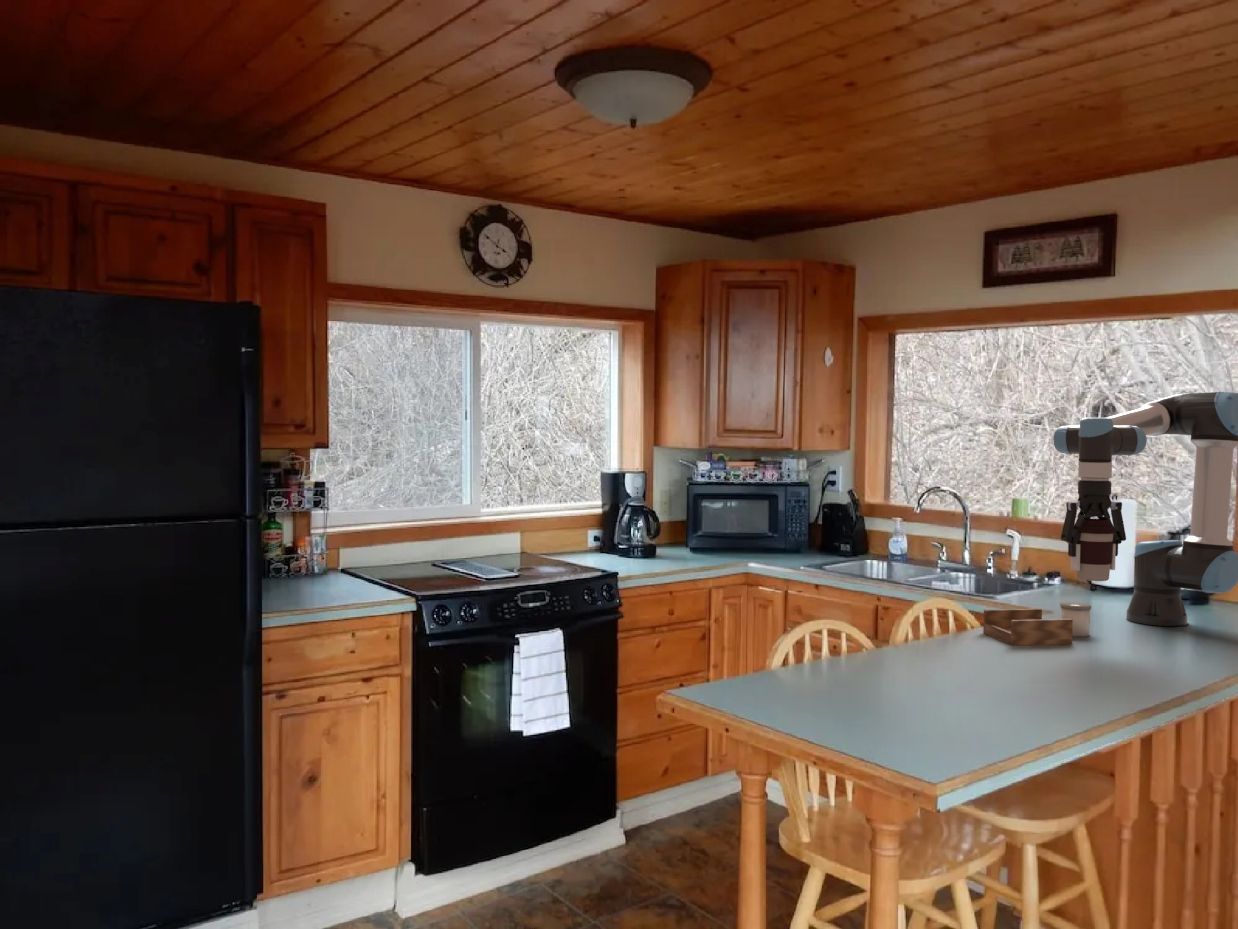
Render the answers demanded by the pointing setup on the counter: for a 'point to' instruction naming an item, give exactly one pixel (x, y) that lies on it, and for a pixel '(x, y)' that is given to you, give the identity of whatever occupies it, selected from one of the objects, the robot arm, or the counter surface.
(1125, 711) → the counter surface
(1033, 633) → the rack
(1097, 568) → the coffee cup
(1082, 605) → the sugar jar
